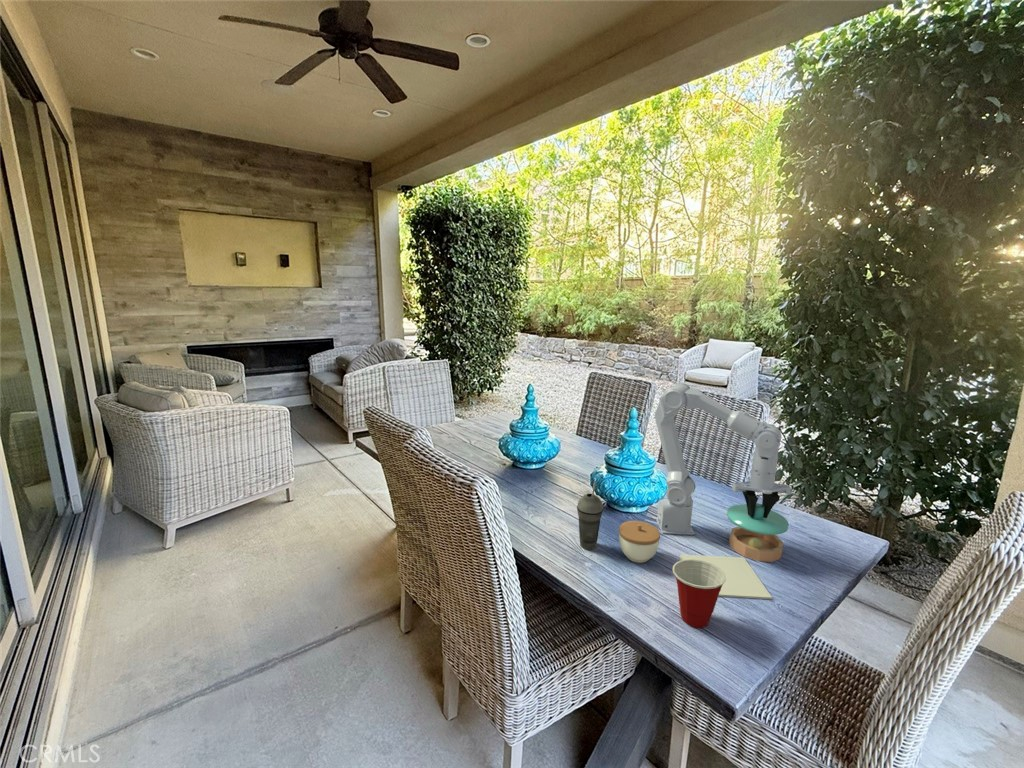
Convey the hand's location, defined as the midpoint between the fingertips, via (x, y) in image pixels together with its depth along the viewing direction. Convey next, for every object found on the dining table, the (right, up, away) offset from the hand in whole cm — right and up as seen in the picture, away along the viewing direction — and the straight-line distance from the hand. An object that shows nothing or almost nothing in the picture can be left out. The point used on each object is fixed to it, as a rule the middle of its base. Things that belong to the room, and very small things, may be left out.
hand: (757, 516), depth 126 cm
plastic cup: (-27, -16, -24) cm, 40 cm away
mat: (-14, -13, -9) cm, 21 cm away
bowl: (+1, -10, +3) cm, 11 cm away
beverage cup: (-46, -10, +4) cm, 47 cm away
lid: (0, -1, 0) cm, 1 cm away
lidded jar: (-33, -11, -1) cm, 35 cm away
